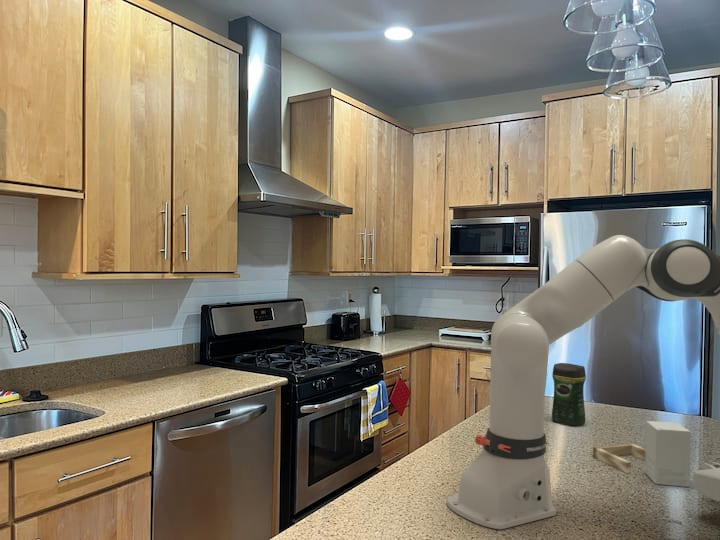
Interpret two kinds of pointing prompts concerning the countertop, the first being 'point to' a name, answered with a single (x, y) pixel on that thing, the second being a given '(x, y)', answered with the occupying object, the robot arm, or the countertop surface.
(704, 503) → the countertop surface
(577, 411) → the coffee jar
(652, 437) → the supplement box
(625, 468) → the corral
